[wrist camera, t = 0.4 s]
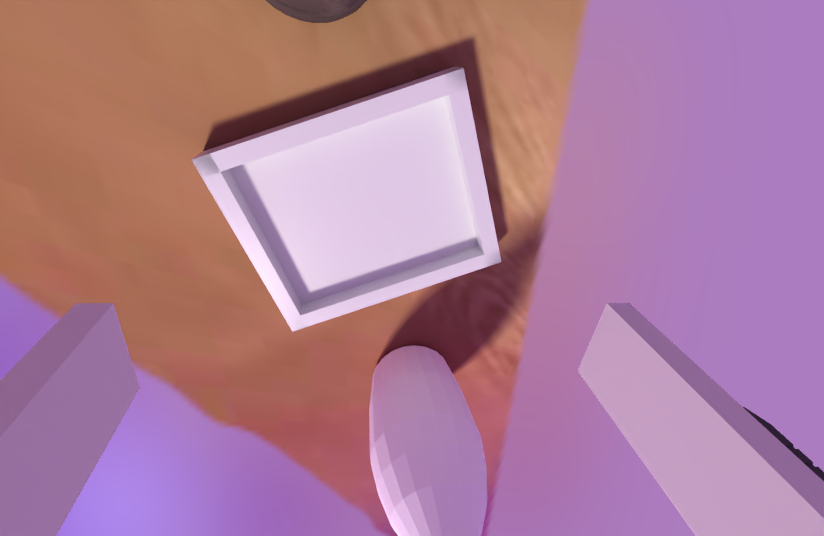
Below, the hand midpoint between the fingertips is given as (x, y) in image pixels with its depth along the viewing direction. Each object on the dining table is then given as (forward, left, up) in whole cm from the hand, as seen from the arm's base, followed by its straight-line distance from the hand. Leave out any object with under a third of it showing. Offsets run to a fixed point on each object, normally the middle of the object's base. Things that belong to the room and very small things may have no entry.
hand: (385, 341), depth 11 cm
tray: (+6, -1, -27) cm, 27 cm away
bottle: (+28, -3, -27) cm, 39 cm away
